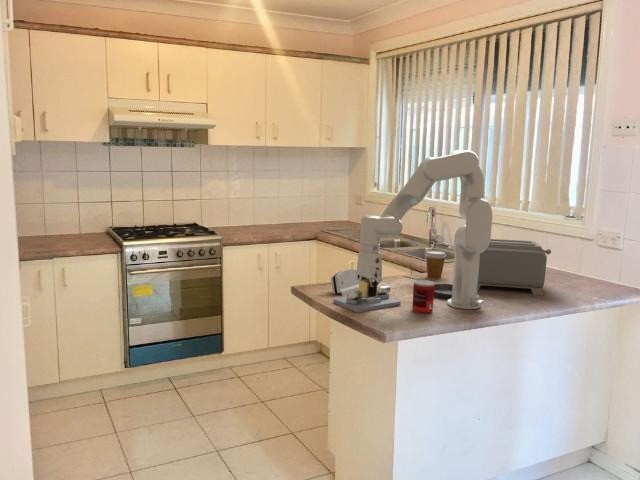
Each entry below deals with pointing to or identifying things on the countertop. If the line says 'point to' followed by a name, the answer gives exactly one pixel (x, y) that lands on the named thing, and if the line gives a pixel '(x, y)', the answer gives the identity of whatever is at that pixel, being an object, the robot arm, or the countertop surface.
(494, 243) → the toaster
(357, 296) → the shaft
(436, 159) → the robot arm
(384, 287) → the shaft
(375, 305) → the board
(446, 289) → the frying pan
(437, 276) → the disposable coffee cup
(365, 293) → the coupler
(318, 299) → the countertop surface
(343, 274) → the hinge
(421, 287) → the canned food
